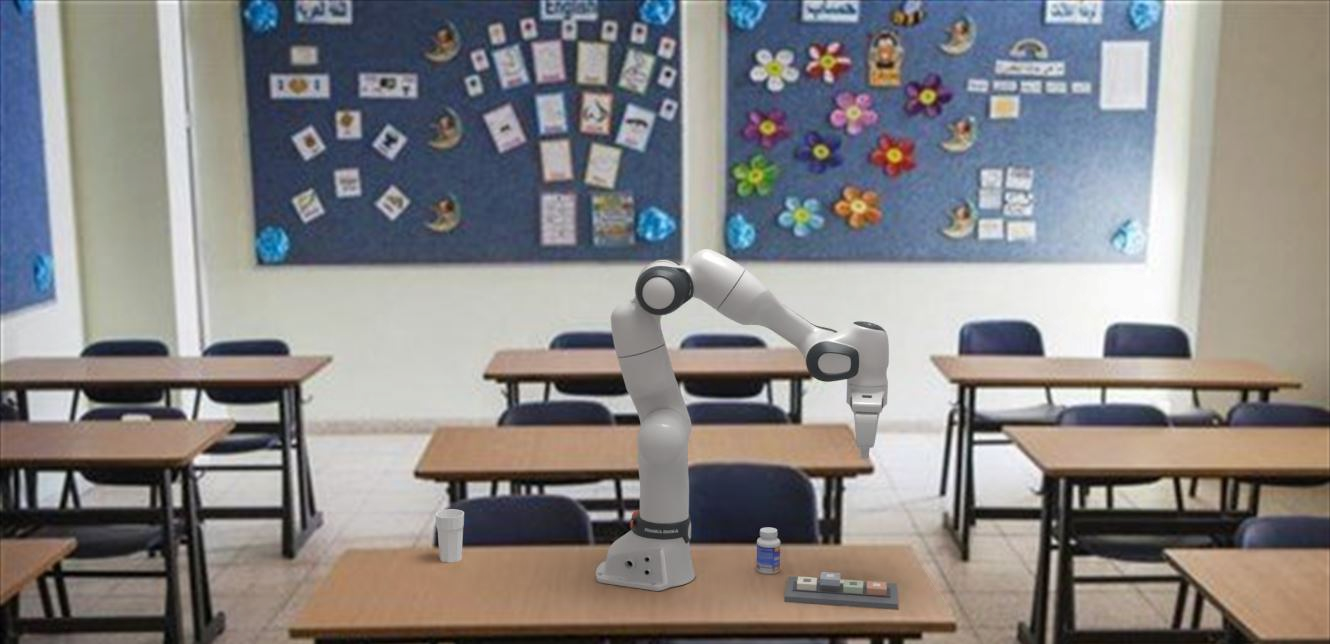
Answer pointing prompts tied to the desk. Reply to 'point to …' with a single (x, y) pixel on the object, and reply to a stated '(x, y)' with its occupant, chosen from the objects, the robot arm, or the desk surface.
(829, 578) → the slate key
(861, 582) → the sage key
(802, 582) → the cream key
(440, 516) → the cup
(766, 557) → the pill bottle
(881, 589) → the terracotta key
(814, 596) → the keypad base
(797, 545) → the desk surface
